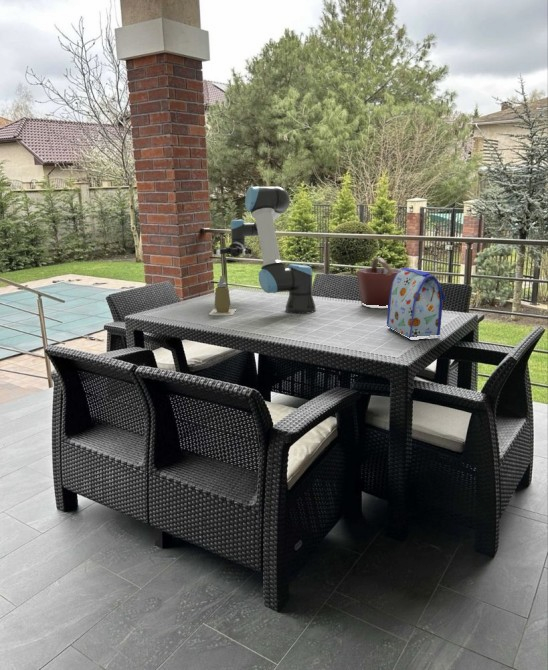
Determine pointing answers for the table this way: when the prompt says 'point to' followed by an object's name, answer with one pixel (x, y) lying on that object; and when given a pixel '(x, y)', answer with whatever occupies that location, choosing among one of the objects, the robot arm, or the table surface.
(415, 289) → the lunch bag
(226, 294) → the squeeze bottle
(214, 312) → the card
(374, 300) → the bucket
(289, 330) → the table surface
